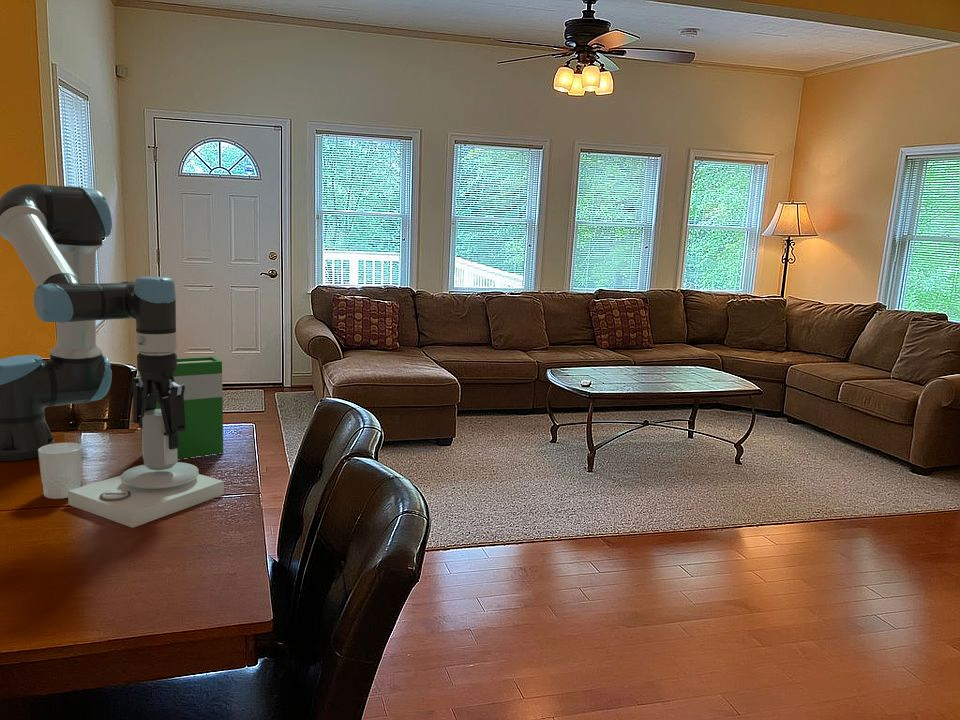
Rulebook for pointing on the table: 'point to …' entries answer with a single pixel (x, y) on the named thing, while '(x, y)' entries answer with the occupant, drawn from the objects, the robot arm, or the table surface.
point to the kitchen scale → (146, 493)
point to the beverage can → (154, 440)
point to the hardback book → (200, 406)
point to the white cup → (60, 468)
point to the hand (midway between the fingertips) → (160, 459)
